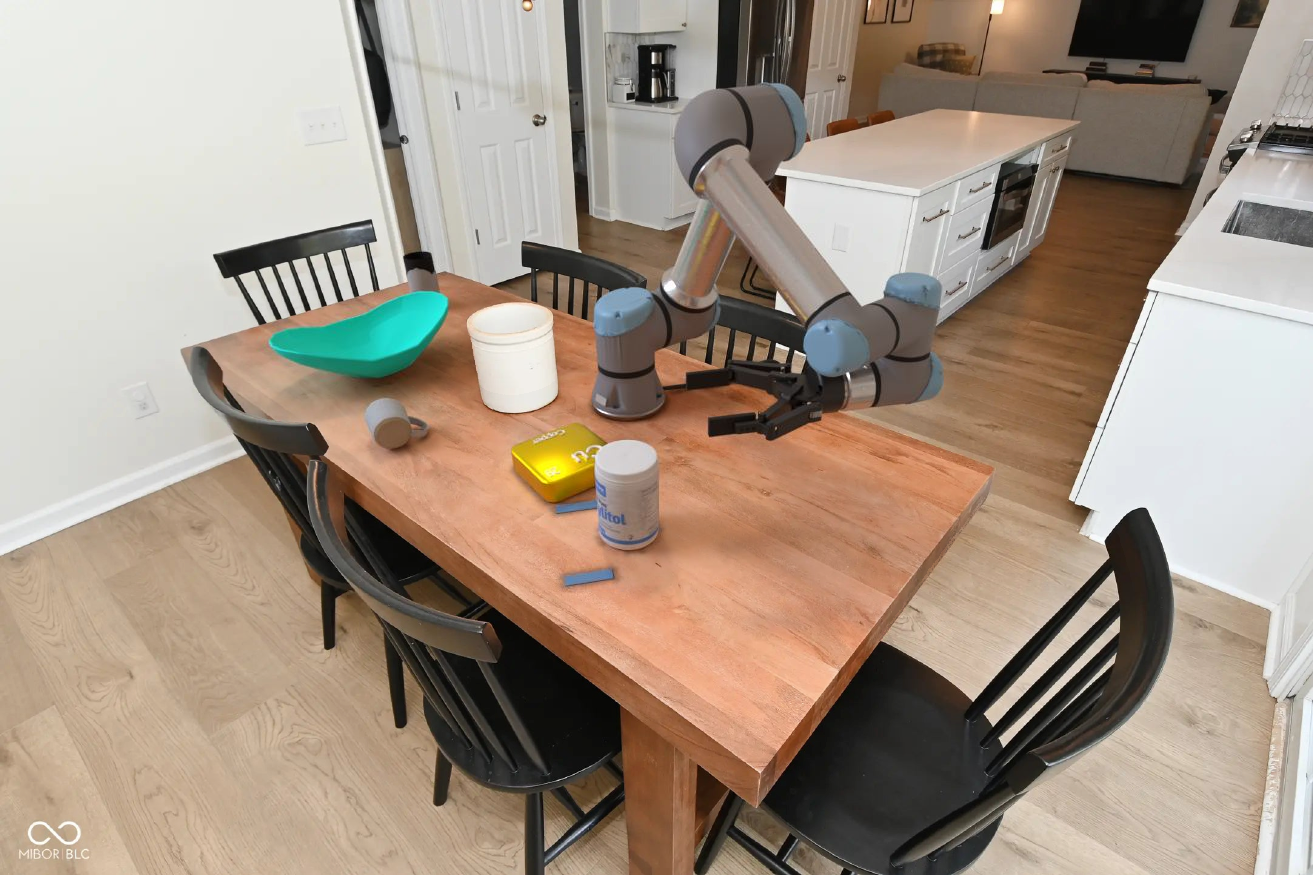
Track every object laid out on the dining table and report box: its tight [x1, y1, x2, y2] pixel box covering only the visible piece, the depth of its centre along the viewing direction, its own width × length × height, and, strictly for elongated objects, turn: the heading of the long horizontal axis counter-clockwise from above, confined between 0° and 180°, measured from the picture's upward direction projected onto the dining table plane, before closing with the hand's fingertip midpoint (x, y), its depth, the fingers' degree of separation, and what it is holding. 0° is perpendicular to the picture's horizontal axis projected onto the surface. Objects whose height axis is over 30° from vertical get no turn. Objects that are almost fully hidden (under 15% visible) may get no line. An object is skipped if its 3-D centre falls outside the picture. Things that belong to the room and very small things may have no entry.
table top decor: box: [268, 291, 450, 380], centre depth 155 cm, size 40×28×13 cm
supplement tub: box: [595, 439, 660, 551], centre depth 104 cm, size 10×10×15 cm
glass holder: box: [402, 250, 441, 294], centre depth 190 cm, size 9×14×15 cm, turn 5°
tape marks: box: [555, 499, 615, 587], centre depth 107 cm, size 7×19×1 cm, turn 11°
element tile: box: [510, 422, 609, 503], centre depth 121 cm, size 15×15×5 cm
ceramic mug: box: [364, 397, 429, 450], centre depth 131 cm, size 11×8×8 cm
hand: (696, 403), depth 98 cm, fingers open, 13 cm apart
